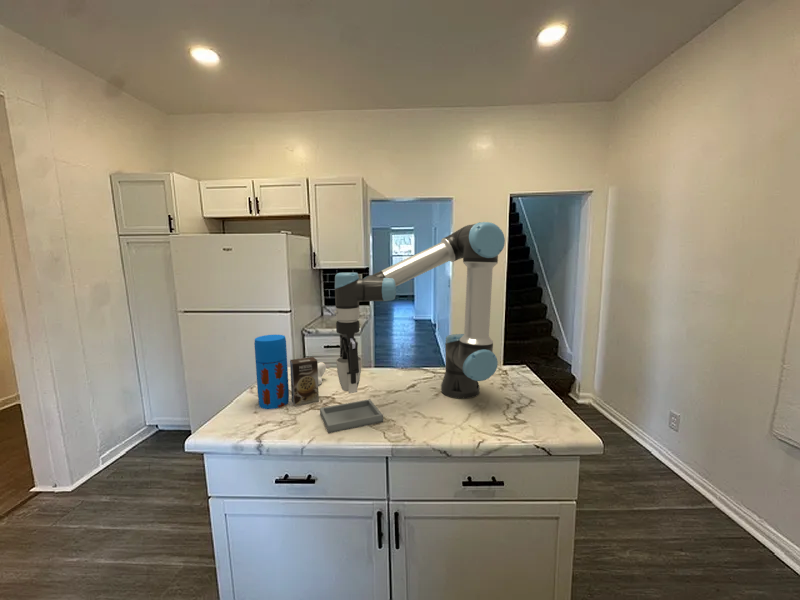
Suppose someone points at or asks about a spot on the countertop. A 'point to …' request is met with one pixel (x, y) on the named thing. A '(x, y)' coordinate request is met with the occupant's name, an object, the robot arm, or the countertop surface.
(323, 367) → the white decorative knot
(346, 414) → the tray
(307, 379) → the coffee box
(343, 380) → the cup
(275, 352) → the thermos
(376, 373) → the countertop surface
